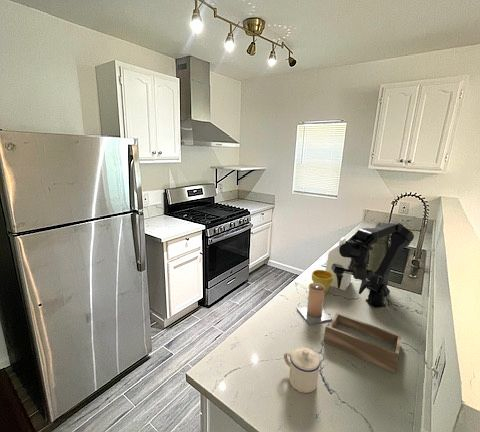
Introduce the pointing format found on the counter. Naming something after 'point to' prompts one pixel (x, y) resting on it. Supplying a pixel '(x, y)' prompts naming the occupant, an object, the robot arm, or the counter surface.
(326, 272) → the plant pot
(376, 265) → the thermos
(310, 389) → the teacup with lid
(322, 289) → the terracotta pot
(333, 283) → the milk
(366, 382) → the counter surface
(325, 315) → the slate tile
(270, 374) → the counter surface
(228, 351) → the counter surface
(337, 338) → the wooden box frame
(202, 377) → the counter surface
